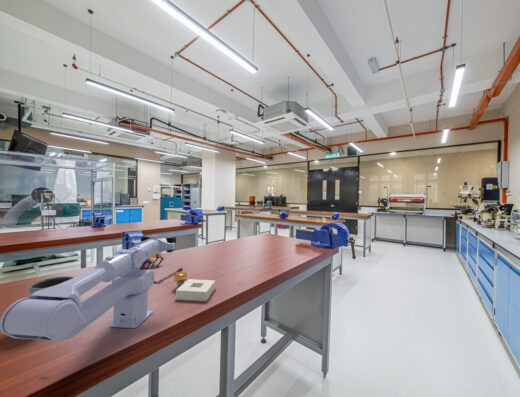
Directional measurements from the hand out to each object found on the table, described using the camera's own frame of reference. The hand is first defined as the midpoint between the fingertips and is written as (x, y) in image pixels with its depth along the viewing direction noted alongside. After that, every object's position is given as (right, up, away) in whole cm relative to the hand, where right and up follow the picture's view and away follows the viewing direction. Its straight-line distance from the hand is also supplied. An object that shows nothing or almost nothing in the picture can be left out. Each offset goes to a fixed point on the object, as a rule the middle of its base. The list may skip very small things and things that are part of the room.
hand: (166, 239), depth 89 cm
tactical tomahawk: (-5, -22, +19) cm, 30 cm away
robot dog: (-24, -22, +30) cm, 44 cm away
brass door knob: (+4, -22, +5) cm, 23 cm away
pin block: (+12, -22, 0) cm, 25 cm away
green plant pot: (-26, -21, -22) cm, 40 cm away
